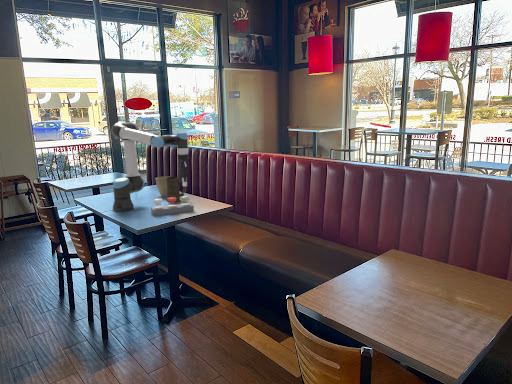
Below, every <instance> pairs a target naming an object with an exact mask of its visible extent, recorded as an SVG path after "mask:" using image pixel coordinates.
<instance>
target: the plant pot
mask: <svg viewBox="0 0 512 384" xmlns="http://www.w3.org/2000/svg"><path fill="white" fill-rule="evenodd" d="M167 177H168V176H158V177H155V183H156V188H157V190H158V193H159V195H160V197H167V181H166V178H167Z"/></svg>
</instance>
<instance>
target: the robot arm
mask: <svg viewBox="0 0 512 384" xmlns="http://www.w3.org/2000/svg"><path fill="white" fill-rule="evenodd" d="M111 134H112V136H113V137H114V138H116V139H118V140H119V139H120V140H121V142H122V143H123V149H124V158H125V160H124V161H125V166H126V167H125V168H126V174H125V175H124V176H125V177H119V178H116V179H114V180H113V181H112V189H113V199H114V201H113V204H112V211H113V212H129V211H131V210H134V209H135V205H134V203H133V201H132V198H131V194H134V193H138V192H140V191H143V189H144V188H145V180H144V178H143V177H142V175H141V174H140V172H139V166H138V165H139V164H138V156H137V147H136V146H137V145H136V142H137V143H142V144H147V145H150V146H153V148H162V147H163V148H164V147H169V146H170V147H171V146H174V147H175V146H177V148H176V149H177V159H178V161H180V162H179V166H180V167H179V168H180V176H181V179H182V183H181V184H182V187H183V186H185V187H188V182H187V180H188V179H187V178H188V162H187V160H189V150H190V149H189V144H188V139H189V138H188V133H187V132H185V131H184V132H179V131H178V132H177V133H176V134H165V135H157V134H154V133H150V132H145V131H141V130H140V128H139V126H138V125H137V124H136V123H135V122H129V121H126V122H116V123H114V124H113V125H112V126H111Z"/></svg>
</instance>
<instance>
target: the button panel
mask: <svg viewBox="0 0 512 384" xmlns="http://www.w3.org/2000/svg"><path fill="white" fill-rule="evenodd" d="M194 207H195V206H194V204H192V203H191V202H183V203H178V204H169V205H158V206H151V207H150V211H151V212H150V213H151V214H152V215H153V216H154V217H155V216H156V215H157V216H163V215H164V214H165V215H172V214H173V215H174V214H180V213H188V212H194V211H195V210H194V209H195V208H194Z"/></svg>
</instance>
